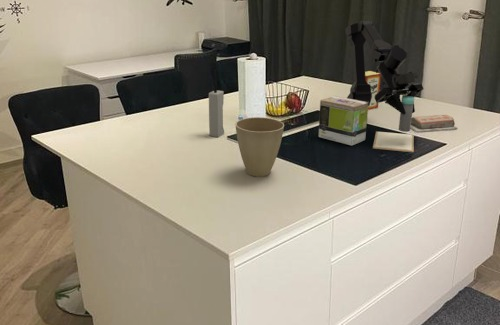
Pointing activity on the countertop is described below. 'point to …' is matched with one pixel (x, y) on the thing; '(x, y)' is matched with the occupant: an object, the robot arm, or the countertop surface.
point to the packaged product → (432, 123)
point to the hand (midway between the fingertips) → (409, 113)
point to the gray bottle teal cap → (406, 118)
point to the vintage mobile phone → (216, 111)
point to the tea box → (343, 120)
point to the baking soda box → (373, 86)
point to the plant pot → (259, 143)
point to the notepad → (394, 141)
